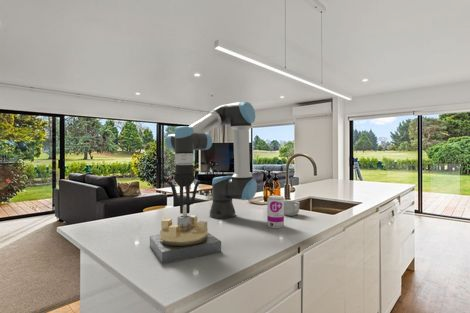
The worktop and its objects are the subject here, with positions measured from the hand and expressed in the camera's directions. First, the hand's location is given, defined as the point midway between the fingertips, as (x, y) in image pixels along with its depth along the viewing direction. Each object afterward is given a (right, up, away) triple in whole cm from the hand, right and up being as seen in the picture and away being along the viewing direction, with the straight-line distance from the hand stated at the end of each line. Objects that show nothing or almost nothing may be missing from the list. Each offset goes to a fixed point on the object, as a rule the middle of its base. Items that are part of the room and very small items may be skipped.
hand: (185, 221), depth 111 cm
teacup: (+54, -8, +47) cm, 72 cm away
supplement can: (+41, -9, +24) cm, 48 cm away
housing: (+1, -9, -7) cm, 12 cm away
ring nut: (+1, -5, -7) cm, 9 cm away
